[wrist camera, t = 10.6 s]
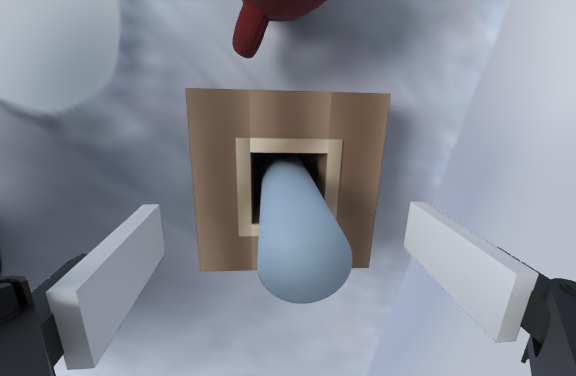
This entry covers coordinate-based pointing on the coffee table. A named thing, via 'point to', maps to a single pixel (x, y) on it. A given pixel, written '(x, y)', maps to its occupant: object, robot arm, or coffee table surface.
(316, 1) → the mug
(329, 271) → the peg
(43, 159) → the coffee table surface
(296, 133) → the socket block
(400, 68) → the coffee table surface
